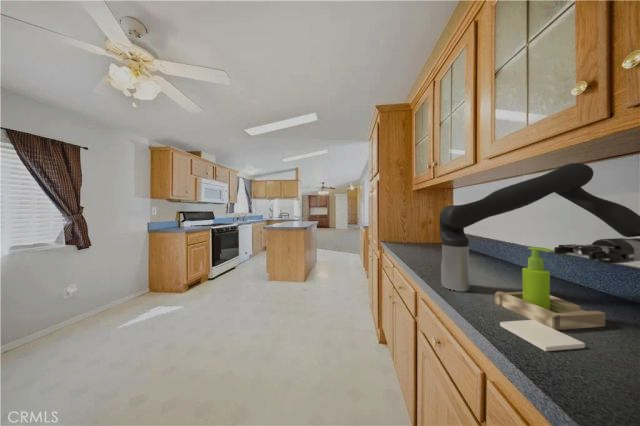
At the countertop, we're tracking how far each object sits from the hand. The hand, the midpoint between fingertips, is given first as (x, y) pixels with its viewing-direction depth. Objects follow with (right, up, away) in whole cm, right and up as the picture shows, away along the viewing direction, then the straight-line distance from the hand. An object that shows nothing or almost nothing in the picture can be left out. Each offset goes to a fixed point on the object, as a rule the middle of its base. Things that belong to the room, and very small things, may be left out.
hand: (572, 253), depth 67 cm
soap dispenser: (-12, -18, -1) cm, 22 cm away
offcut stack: (-5, -18, 0) cm, 19 cm away
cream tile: (-22, -18, -12) cm, 31 cm away
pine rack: (-10, -18, -1) cm, 20 cm away
